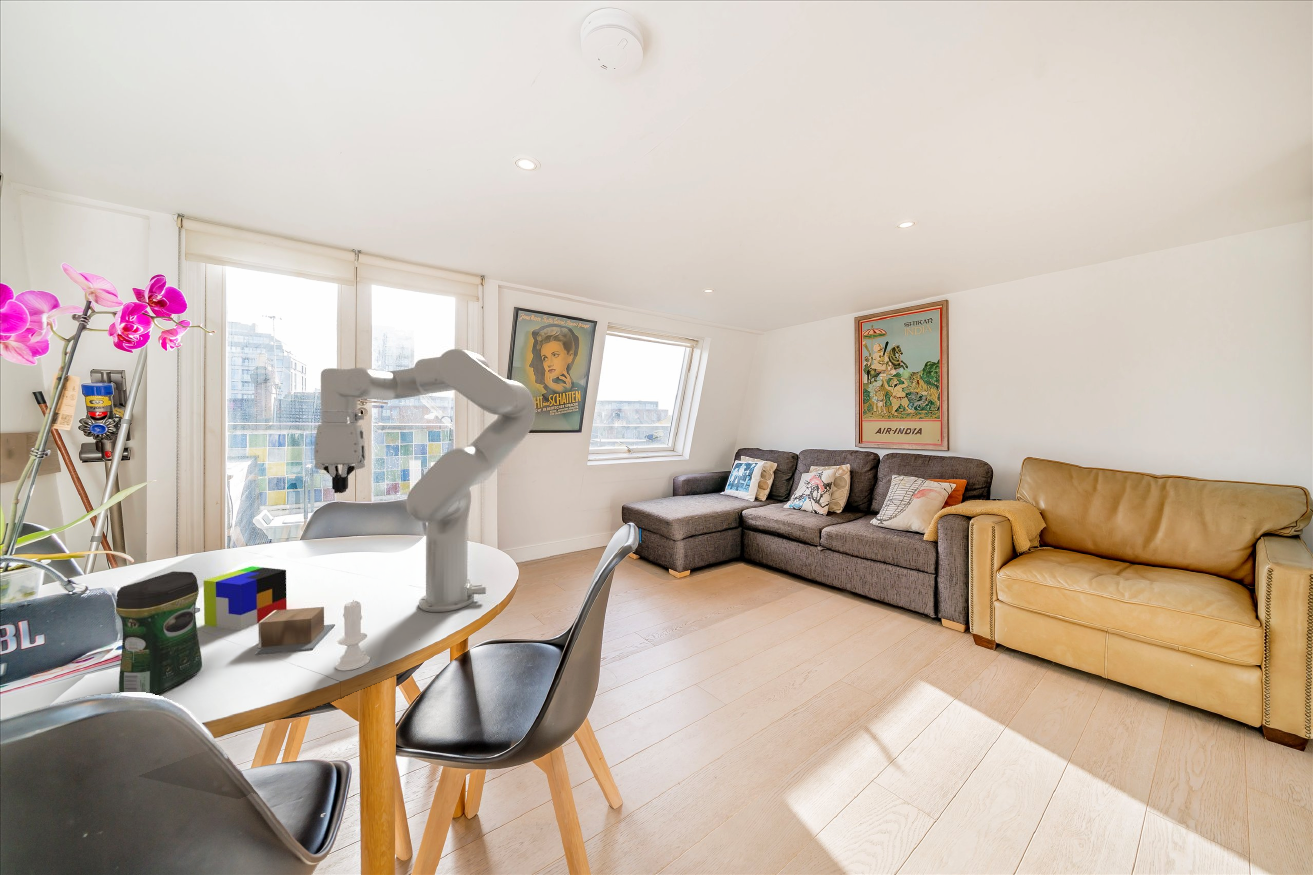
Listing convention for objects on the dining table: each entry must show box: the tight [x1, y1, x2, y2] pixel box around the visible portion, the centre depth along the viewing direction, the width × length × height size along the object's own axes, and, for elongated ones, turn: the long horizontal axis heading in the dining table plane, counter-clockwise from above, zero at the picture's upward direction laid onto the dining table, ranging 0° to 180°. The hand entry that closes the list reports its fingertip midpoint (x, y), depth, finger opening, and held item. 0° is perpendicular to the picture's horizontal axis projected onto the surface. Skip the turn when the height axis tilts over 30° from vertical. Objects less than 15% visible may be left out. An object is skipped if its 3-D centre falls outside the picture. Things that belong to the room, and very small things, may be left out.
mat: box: [255, 623, 336, 656], centre depth 97 cm, size 10×11×1 cm
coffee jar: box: [115, 570, 203, 695], centre depth 80 cm, size 10×8×19 cm
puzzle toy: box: [203, 566, 288, 631], centre depth 106 cm, size 10×10×10 cm
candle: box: [335, 599, 370, 672], centre depth 88 cm, size 5×5×12 cm
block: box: [257, 606, 325, 648], centre depth 96 cm, size 5×6×9 cm
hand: (340, 492), depth 117 cm, fingers closed
